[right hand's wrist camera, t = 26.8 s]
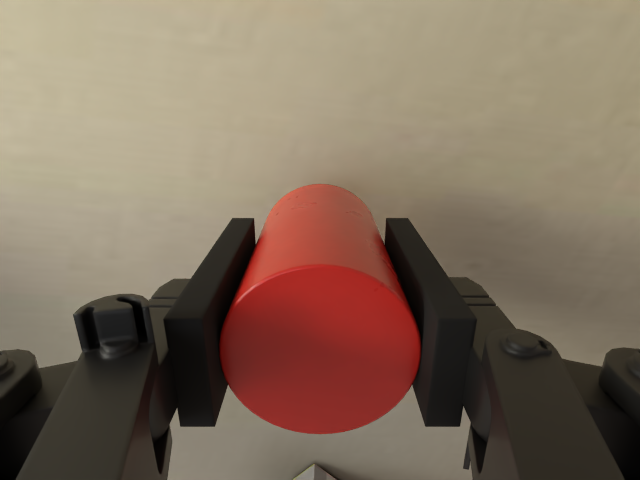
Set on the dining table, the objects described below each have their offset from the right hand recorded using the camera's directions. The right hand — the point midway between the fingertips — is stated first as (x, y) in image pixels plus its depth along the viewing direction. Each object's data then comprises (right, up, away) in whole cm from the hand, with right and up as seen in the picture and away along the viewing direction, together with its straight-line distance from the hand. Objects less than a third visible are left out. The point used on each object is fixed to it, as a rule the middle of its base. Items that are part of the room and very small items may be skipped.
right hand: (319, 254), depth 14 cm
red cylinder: (0, +1, +2) cm, 2 cm away
